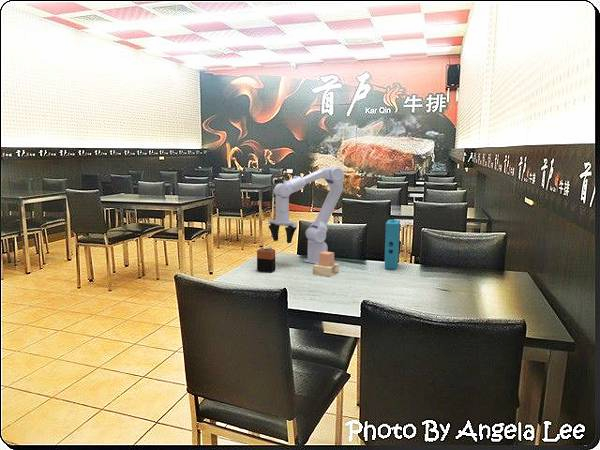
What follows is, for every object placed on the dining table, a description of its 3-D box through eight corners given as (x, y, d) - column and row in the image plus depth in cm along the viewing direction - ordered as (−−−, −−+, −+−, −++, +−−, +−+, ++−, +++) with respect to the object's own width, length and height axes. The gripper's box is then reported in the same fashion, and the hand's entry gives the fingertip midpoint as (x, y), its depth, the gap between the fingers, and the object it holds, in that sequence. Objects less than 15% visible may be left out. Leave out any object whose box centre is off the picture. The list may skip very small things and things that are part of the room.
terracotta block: (325, 262, 185) (325, 251, 185) (334, 264, 183) (334, 252, 182) (318, 264, 182) (318, 253, 181) (327, 266, 179) (327, 254, 178)
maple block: (321, 270, 188) (322, 261, 188) (338, 273, 184) (338, 263, 184) (312, 275, 182) (312, 265, 181) (329, 277, 178) (330, 268, 177)
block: (387, 263, 200) (388, 219, 196) (398, 264, 198) (400, 220, 195) (383, 270, 188) (385, 223, 185) (395, 271, 187) (397, 224, 184)
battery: (271, 273, 183) (271, 249, 182) (256, 271, 186) (256, 248, 184) (275, 270, 187) (275, 247, 186) (261, 268, 190) (261, 246, 188)
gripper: (263, 210, 194) (264, 241, 196) (289, 213, 185) (289, 245, 187) (274, 209, 199) (274, 238, 202) (299, 211, 191) (299, 242, 193)
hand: (282, 241), depth 195 cm, fingers open, 7 cm apart
